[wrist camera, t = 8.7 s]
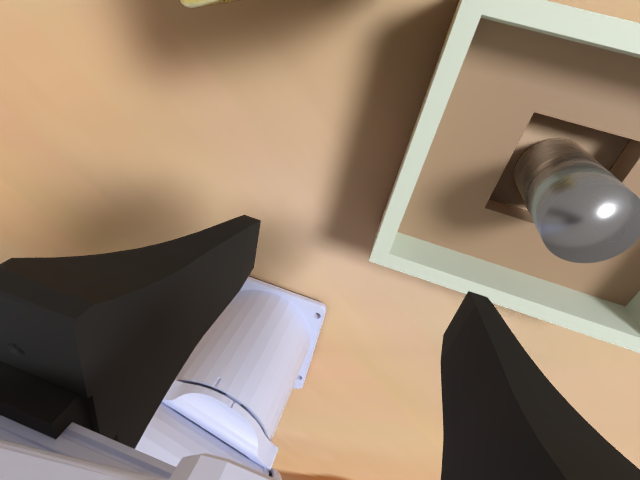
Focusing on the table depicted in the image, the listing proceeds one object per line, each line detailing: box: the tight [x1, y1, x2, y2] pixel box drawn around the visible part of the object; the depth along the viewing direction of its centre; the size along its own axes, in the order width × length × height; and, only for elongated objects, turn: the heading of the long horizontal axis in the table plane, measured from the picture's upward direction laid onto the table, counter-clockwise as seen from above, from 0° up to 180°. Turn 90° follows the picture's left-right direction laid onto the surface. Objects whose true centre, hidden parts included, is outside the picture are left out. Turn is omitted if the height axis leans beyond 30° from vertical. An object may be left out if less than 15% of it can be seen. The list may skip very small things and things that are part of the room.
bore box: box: [369, 0, 640, 353], centre depth 17 cm, size 12×14×4 cm
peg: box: [514, 138, 640, 263], centre depth 16 cm, size 3×3×6 cm
